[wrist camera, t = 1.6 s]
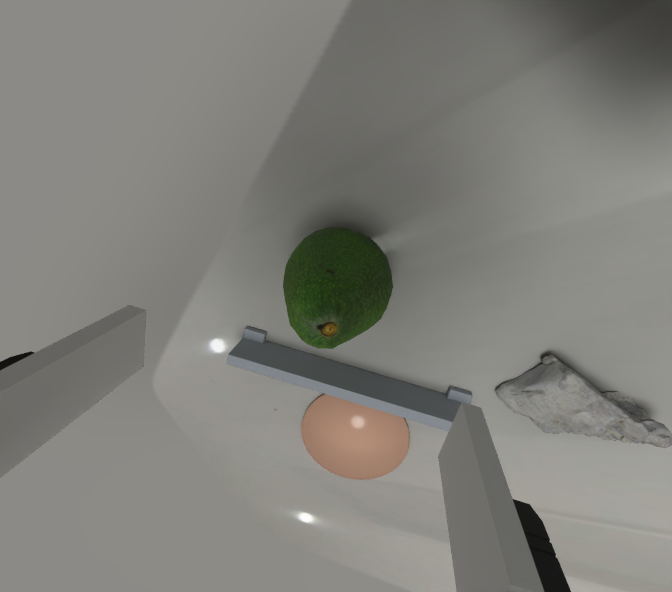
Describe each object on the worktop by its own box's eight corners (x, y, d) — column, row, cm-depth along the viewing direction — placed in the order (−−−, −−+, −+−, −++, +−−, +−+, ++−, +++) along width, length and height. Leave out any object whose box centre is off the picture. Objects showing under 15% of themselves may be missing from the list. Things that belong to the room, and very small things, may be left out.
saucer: (314, 374, 36) (313, 376, 36) (424, 407, 35) (424, 409, 35) (293, 458, 40) (292, 460, 40) (391, 489, 39) (391, 492, 39)
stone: (599, 455, 35) (626, 492, 31) (489, 394, 34) (502, 423, 30) (652, 407, 32) (688, 439, 29) (535, 340, 32) (556, 364, 28)
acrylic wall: (247, 326, 36) (229, 344, 32) (471, 392, 34) (480, 419, 30) (242, 352, 37) (225, 373, 33) (459, 417, 35) (467, 447, 31)
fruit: (312, 312, 34) (270, 383, 23) (294, 227, 32) (237, 260, 21) (398, 302, 32) (398, 373, 21) (385, 212, 30) (377, 238, 19)
